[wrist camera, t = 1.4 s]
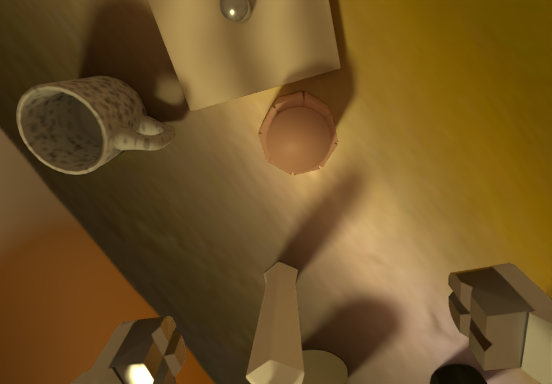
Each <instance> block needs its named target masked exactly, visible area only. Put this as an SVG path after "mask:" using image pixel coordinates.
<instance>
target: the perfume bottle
mask: <svg viewBox="0 0 552 384" xmlns="http://www.w3.org/2000/svg"><path fill="white" fill-rule="evenodd" d="M297 274H298V270H297V269H295V268H293V267H291V266H288V265H286V264H283V263H281V262H277V263H276V264H275V265H273V266H272V267H271V268H270V269H269V270H267V271H266V272H265V273H264V276H265V280H266V289H265V293H264V298H263V302H262V307H261V311H260V316H259V320H258V325H257V330H256V334H255V339H254V343H253V348H252V352H251V357H250V361H249V366H248V370H247V375H246V378H247V379H248V381H249V382H250V383H251V384H302V381H303V378H304V365H303V355H302V346H301V336H300V326H299V317H298V307H297V297H296V288H295V284H296V279H297Z"/></svg>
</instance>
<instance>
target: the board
mask: <svg viewBox="0 0 552 384" xmlns="http://www.w3.org/2000/svg"><path fill="white" fill-rule="evenodd" d="M148 1H149V4H150V7H151V9H152V12H153V14H154V17H155V20H156V22H157V25H158V27H159V30H160V33H161V35H162V38H163V41H164V43H165V46H166V48H167V51H168V54H169V56H170V59H171V61H172V64H173V67H174V69H175V72H176V74H177V77H178V80H179V82H180V85H181V87H182V90H183V93H184V95H185V98H186V101H187V103H188V106H189V108H190V111H194V110H197V109H201V108H204V107H208V106H211V105H215V104H218V103H222V102H225V101H229V100H232V99H236V98H239V97H243V96H246V95H250V94H253V93H257V92H260V91H264V90H267V89H271V88H274V87H278V86H281V85H285V84H288V83H292V82H295V81H299V80H302V79H306V78H309V77H313V76H316V75H320V74H323V73H327V72H330V71H334V70H337V69H341V66H340V60H339V55H338V49H337V44H336V38H335V32H334V27H333V21H332V16H331V10H330V4H329V0H248V1H249V2H250V4H251V7H252V15H251V17H250V19H249V20H248V21H247V22H246V23H243V24H238V23H235V22H233V21H230V20H228V19H227V18H225V17H224V16H223V14H222V12H221V10H220V0H148Z"/></svg>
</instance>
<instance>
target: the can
mask: <svg viewBox="0 0 552 384" xmlns="http://www.w3.org/2000/svg"><path fill="white" fill-rule="evenodd" d="M302 355H303V365H304V378H303V381H302V384H348V371H347V367H346V365H345V364H344V362H343V361H342V360H341V359H340V358H339V357H337V356H336V355H334V354H332V353H329V352H326V351H322V350H303V351H302Z"/></svg>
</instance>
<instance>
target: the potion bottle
mask: <svg viewBox="0 0 552 384" xmlns="http://www.w3.org/2000/svg"><path fill="white" fill-rule="evenodd" d="M430 384H487V382H486V381H485V379H484V378H483V377H482V375H481V374H480V372H478V371H477V370H476V369H474V368H472V367H470V366H466V365H462V364H461V365H450V366H446V367H443V368H441V369H440V370H438V371H436V372H435V374H434V375H433V376H432V378H431V380H430Z"/></svg>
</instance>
